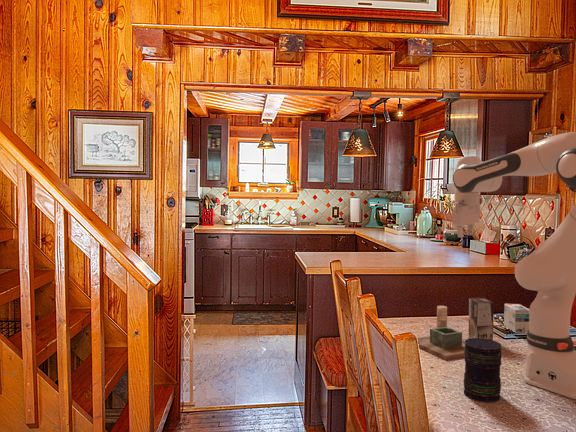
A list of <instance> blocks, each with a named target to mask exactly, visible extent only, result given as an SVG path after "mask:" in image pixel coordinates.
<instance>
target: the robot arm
mask: <svg viewBox="0 0 576 432" xmlns="http://www.w3.org/2000/svg"><path fill="white" fill-rule="evenodd" d="M456 163H457V164H456V168H455V170H454V172H453V175H452V182H453V185H454V187H455V188H454V206H453V208H452V212H451V213H452V214H451V225H452V226H456V232H457V238H461V239H462V238H464V234H465V232H464V226H467V230H466V236H472V235H473V232H474V228H475V224H477V223H479V222H480V218H481V208H482V207H481V205H482V204H483V198H481V196H480V193H491V192H496V191H497V190H499V189H500V188H501V186H502V185H503V182H504V177H509V176H510V177H511V176H512V177H514V176H516V177H517V176H518V177H519V176H520V177H539V176H540V177H541V176H547V175H552V174H555V173H556V174H557V176H558V177H559V178H558V179H560V180H561V181H562V183H564V184H565V185H566V186H567V188H568V189H569V191H571V192H572V193H576V131H569V132H562V133H559V134H555V135H552V136H548V137H546V138H543V139H541V140H538V141H536V142H533V143H531V144H529V145H527V146H524V147H521V148H520V149H519V148H518V149H517V150H514V151H512V152H510V153H509V152H508V153H506V154H504V155H501V156H497V157H495V158H492V159H488V160H485V161H482V160H481V158H480V157H478V156H473V155H471V156H470V155H469V156H465V157H462V158H459V159H458V161H457V162H456ZM569 210H570V211H568V214H566V216H565V217H564V218H563V220H562V221H561V223H560V224H559V225H558V227H557V228H556V229H555V231H554V232H553V233H552V234H550V235H549V236H548V237H547V238H546V239H545V240H544V241H543V242H542V243H541V244H539V245H538V247H536V249H534V250H533V251H532V252H531V253H530V254H528V255H527V256H526V257H524V258H522V259H520V260H519V261H518V262H517V263H516V264H515V267H514V276H515V279H516V282H517V283H518V285H519V286H521V287H522V288H523V289H525V290H529V291H534V292H537V294H536V297H535V298H534V300H533V301H532V302H531V303H530V306H529V309H530V311H529V330H528V331H527V336H526V343H527V351H526V357H525V362H524V366H523V368H522V369H523V370H522V372H521V375H522V377H523V382H524V384H525V383H526V384H529V385H531V386H535V387H538V388H541V389H543V390H546V391H548V392H552V393H555V394H558V395H561V396H563V397H567V398H569V399H572V400H576V347H575V346H576V341H573V339H572V336H571V335H570V333H571V331H570V330H571V314H572V308H573V304H574V301H575V297H576V203H575V204H574V205H573V206H572V207H571V209H569Z"/></svg>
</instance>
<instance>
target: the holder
mask: <svg viewBox="0 0 576 432" xmlns="http://www.w3.org/2000/svg"><path fill="white" fill-rule="evenodd" d="M416 338H417V339H418V344H419V349H421V350H422V349H423V350H422V351H425V352H427V353H429V354H431V355H433V354H434V355H433V356H435V355H436V357H437V356H438V358H440V359H442V360H444V361H448V360H454V359H459V358H460V359H461V358H464V357H465V355H464V350H465V340H463V332H462V331H459V330H457V329H455V328H451V327H449V326H447V327H441V328H437V327H436V328H435V327H434V328H430V329H429V336H422V337H420V336H419V337H416Z"/></svg>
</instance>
